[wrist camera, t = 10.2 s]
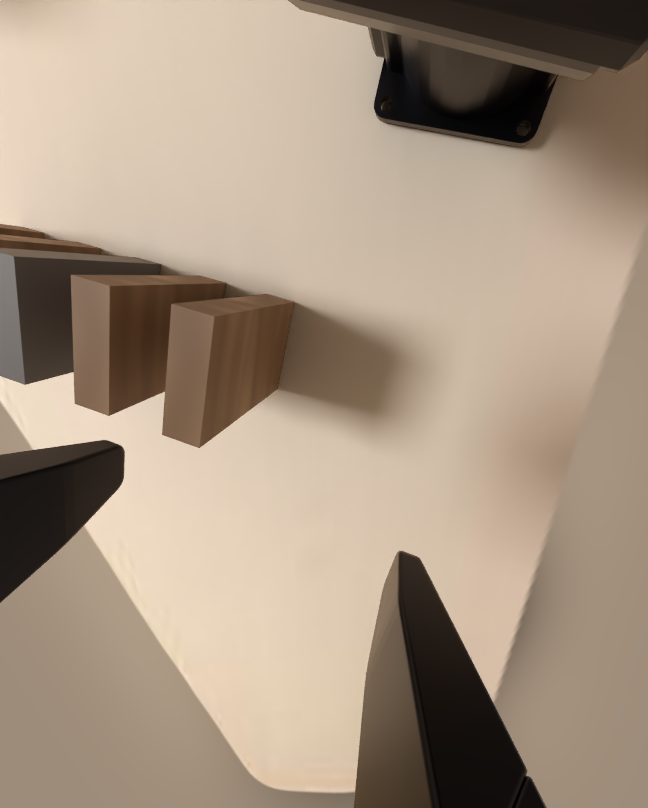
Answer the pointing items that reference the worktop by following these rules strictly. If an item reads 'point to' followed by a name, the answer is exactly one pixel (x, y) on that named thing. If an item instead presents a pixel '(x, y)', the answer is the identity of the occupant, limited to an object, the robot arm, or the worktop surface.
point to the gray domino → (46, 307)
